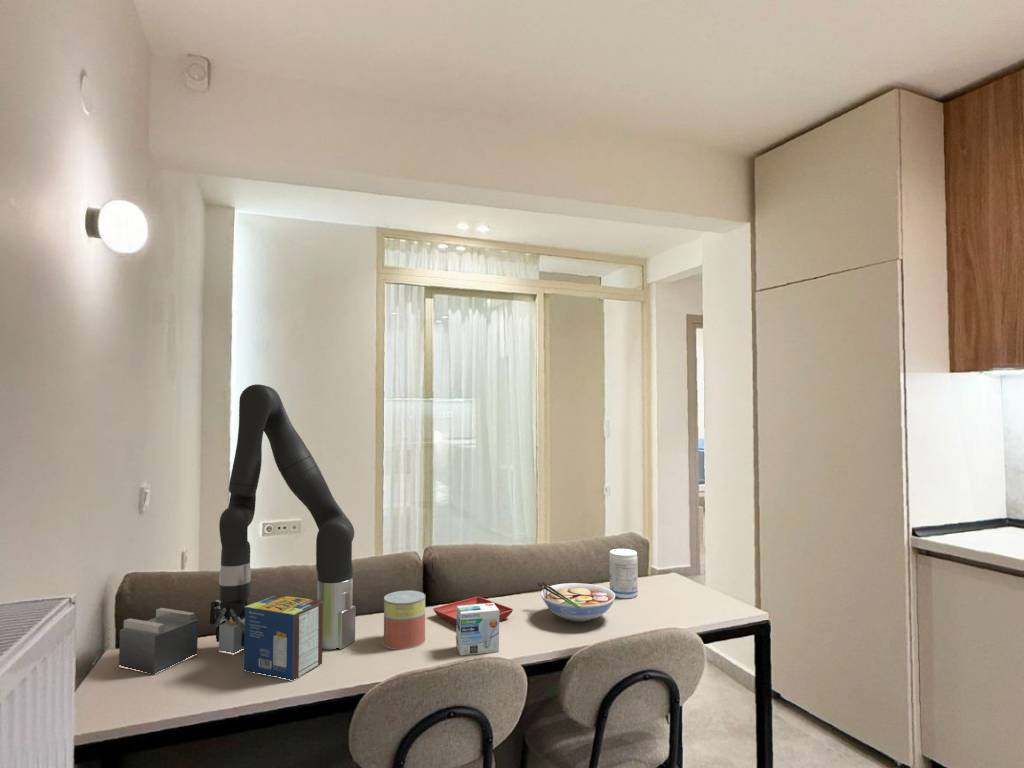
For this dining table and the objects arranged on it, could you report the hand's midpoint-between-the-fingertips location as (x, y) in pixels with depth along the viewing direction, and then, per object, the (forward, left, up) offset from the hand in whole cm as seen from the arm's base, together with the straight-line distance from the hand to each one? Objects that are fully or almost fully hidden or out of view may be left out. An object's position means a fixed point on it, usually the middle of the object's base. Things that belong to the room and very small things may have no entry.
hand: (233, 643), depth 152 cm
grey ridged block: (+12, +12, -2) cm, 17 cm away
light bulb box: (-60, -23, -2) cm, 64 cm away
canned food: (-39, -21, -2) cm, 45 cm away
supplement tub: (-88, -83, -2) cm, 121 cm away
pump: (0, 0, -2) cm, 2 cm away
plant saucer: (-49, -44, -2) cm, 66 cm away
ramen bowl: (-79, -55, -2) cm, 97 cm away
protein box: (-20, +4, -2) cm, 21 cm away
